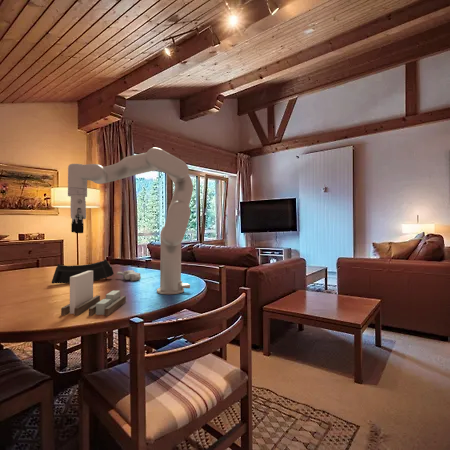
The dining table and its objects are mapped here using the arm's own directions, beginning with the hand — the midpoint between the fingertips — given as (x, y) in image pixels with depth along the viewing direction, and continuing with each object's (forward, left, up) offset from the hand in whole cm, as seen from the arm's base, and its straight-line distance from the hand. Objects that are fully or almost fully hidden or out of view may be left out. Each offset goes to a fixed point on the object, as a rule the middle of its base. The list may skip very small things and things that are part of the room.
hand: (77, 232), depth 129 cm
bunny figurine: (-11, -39, -28) cm, 49 cm away
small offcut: (-21, +22, -28) cm, 41 cm away
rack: (-16, +17, -28) cm, 36 cm away
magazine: (+11, -31, -28) cm, 43 cm away
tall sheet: (-11, +17, -28) cm, 34 cm away
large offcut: (-21, +13, -28) cm, 37 cm away
